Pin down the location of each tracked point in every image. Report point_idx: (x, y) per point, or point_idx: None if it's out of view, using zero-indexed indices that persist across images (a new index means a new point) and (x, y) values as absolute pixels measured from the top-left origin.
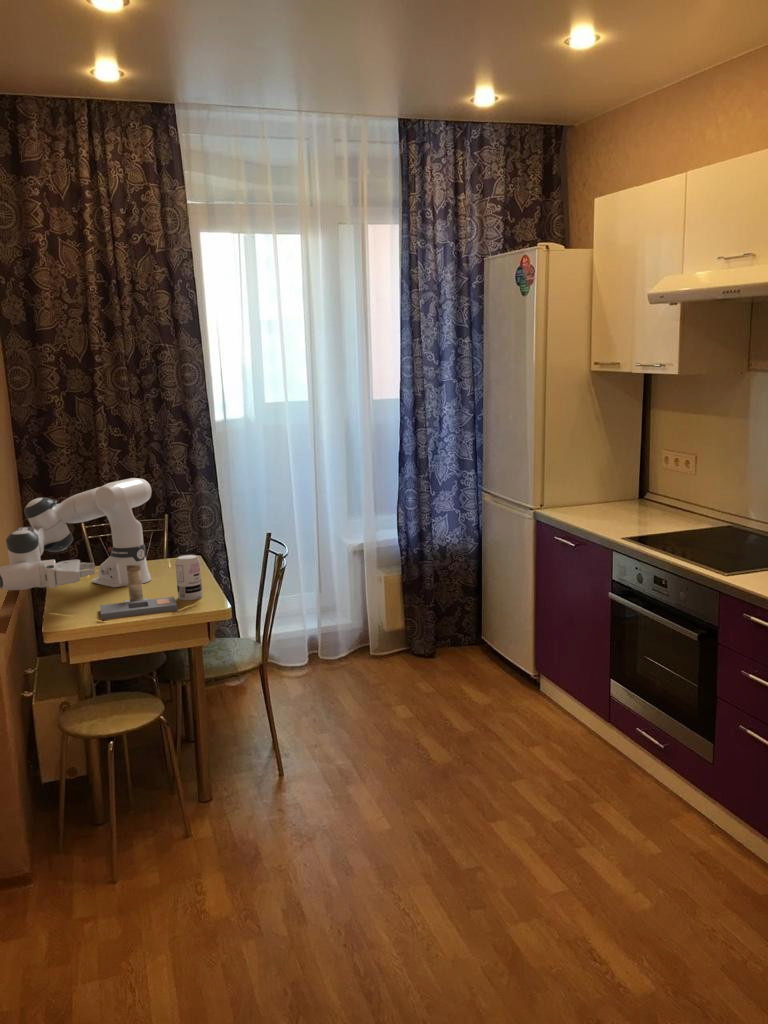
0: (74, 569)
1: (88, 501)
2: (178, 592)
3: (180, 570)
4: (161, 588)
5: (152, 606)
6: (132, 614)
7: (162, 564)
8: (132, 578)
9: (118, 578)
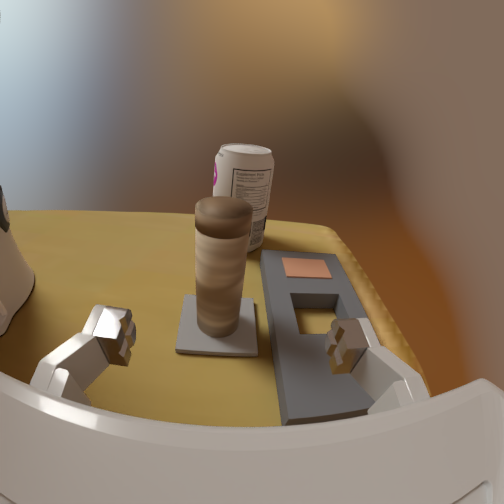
0: (467, 419)
1: None
2: None
3: (265, 182)
4: (102, 262)
5: (343, 287)
6: None
7: None
8: (245, 257)
9: None
